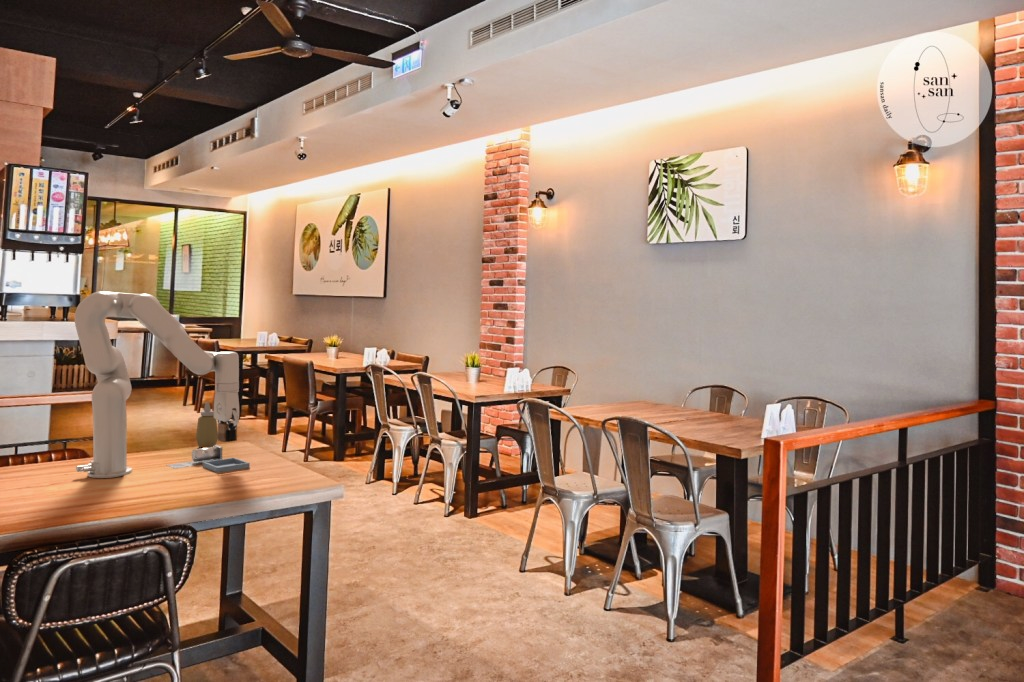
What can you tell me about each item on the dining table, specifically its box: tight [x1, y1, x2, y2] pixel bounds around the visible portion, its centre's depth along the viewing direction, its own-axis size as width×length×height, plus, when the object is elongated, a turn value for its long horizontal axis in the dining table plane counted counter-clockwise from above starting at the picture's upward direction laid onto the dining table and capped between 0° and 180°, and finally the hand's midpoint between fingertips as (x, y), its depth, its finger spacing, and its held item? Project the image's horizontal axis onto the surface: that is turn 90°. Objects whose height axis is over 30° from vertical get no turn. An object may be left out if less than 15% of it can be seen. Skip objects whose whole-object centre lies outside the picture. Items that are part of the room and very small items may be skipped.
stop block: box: [217, 422, 238, 443], centre depth 239 cm, size 4×4×6 cm
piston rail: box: [166, 459, 218, 470], centre depth 245 cm, size 18×7×1 cm, turn 138°
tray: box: [202, 457, 251, 475], centre depth 239 cm, size 11×11×2 cm
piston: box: [191, 444, 223, 462], centre depth 247 cm, size 9×5×5 cm, turn 138°
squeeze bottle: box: [195, 401, 218, 448], centre depth 273 cm, size 8×8×18 cm
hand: (227, 439), depth 239 cm, fingers closed on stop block, 4 cm apart
